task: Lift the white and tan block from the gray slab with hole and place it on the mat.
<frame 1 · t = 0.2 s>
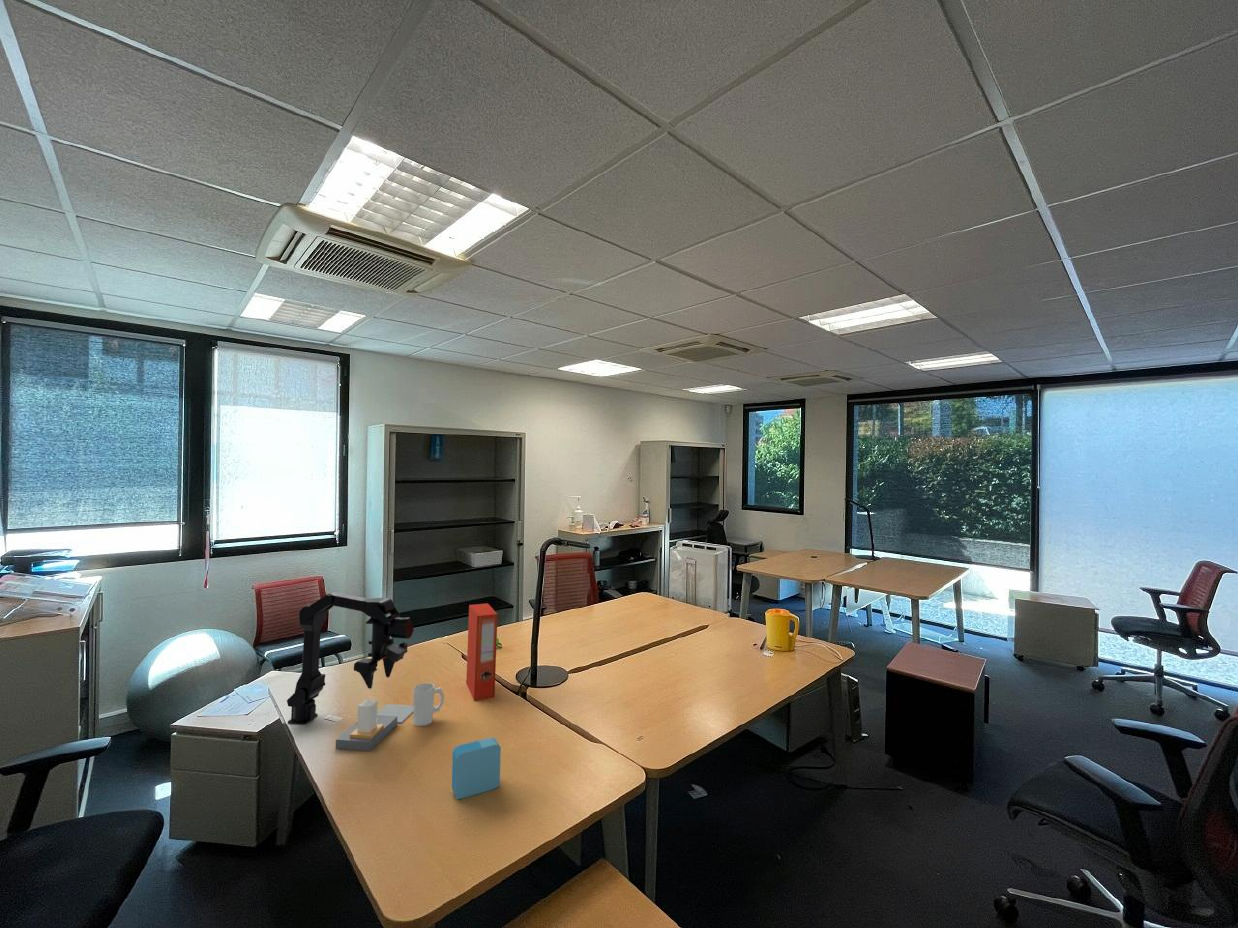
hand: (379, 682, 166), 14 cm above the table, tool pointing down, fingers open, 9 cm apart
file binder: (480, 690, 194), on the table
gray slab with hole: (367, 736, 158), on the table
mug: (428, 721, 169), on the table
mat: (394, 714, 173), on the table
data package: (475, 790, 133), on the table
white and tan block: (366, 741, 155), resting in gray slab with hole
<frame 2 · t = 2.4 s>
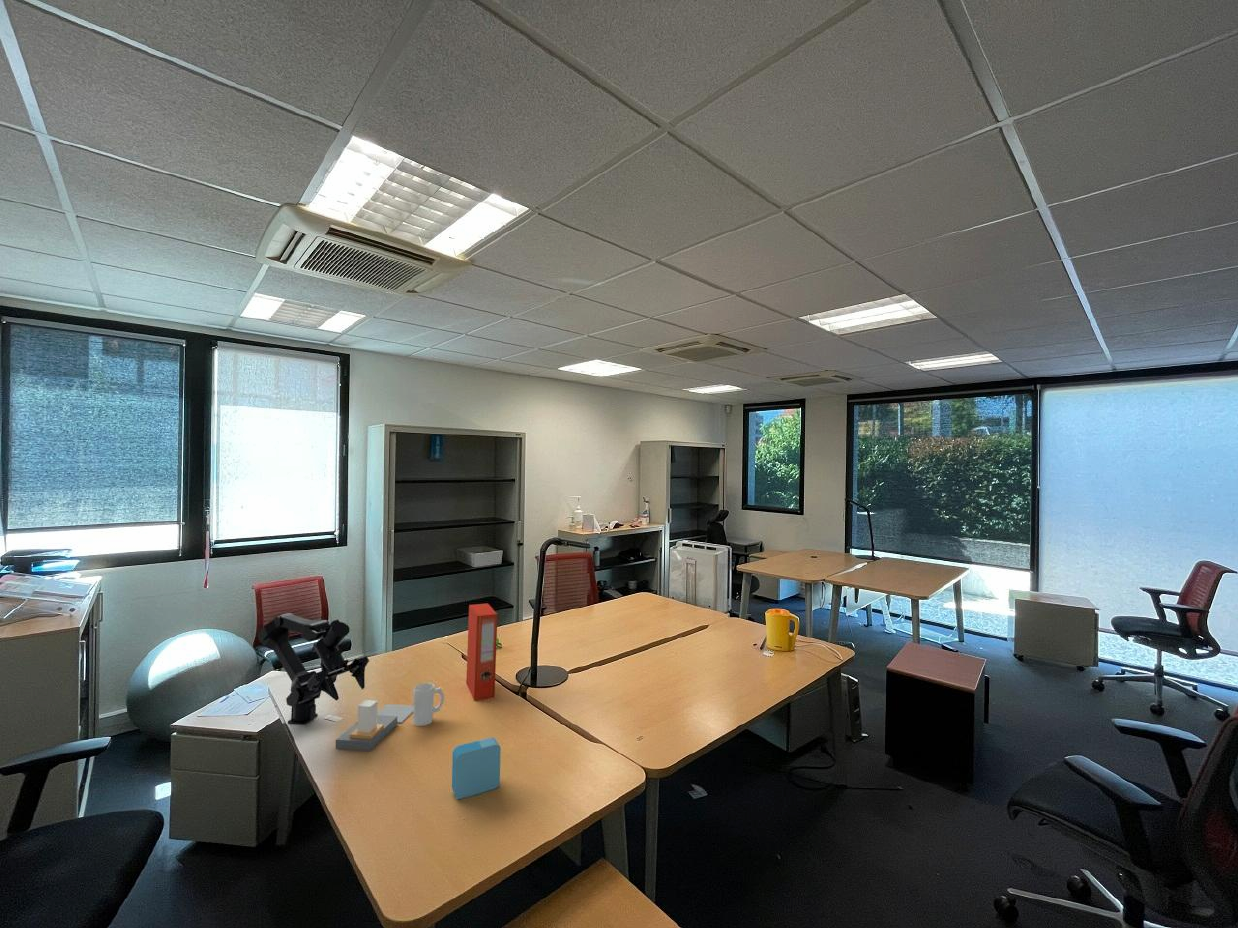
hand: (350, 693, 159), 14 cm above the table, tool tilted 45°, fingers open, 9 cm apart
nothing on the table moved.
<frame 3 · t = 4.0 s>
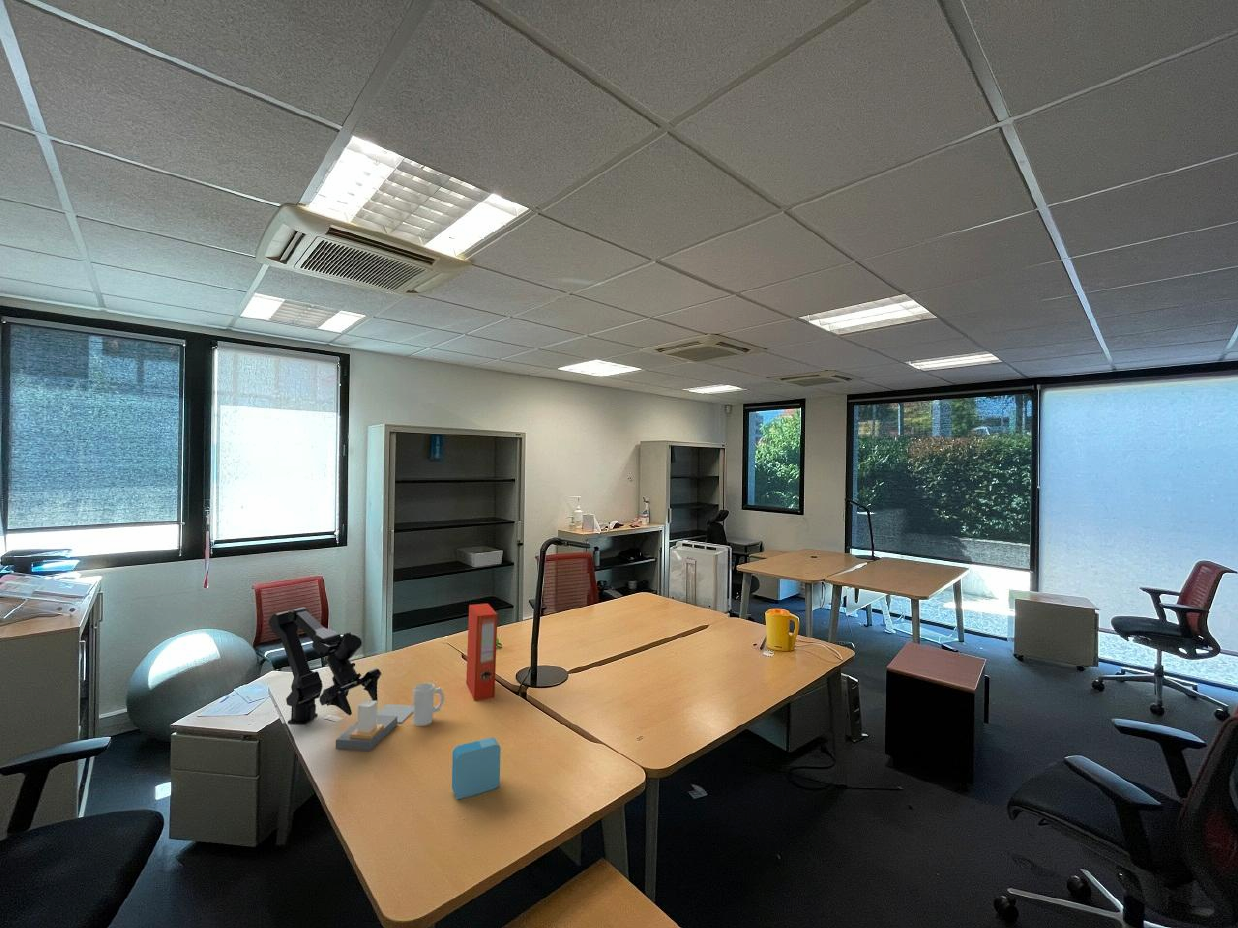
hand: (363, 708, 156), 10 cm above the table, tool tilted 45°, fingers open, 9 cm apart
nothing on the table moved.
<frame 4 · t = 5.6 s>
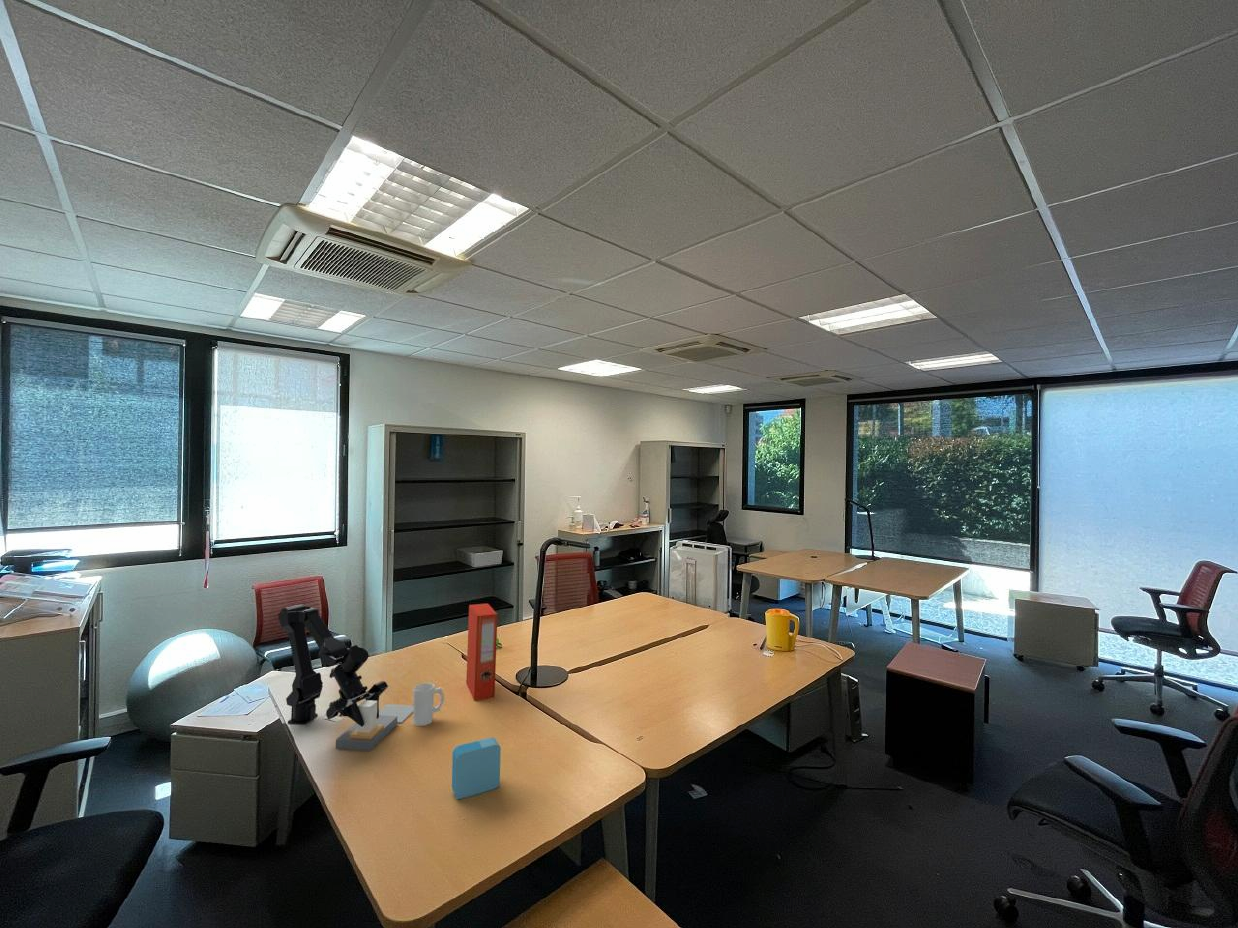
hand: (370, 721, 155), 7 cm above the table, tool tilted 45°, fingers closed on white and tan block, 5 cm apart
white and tan block: (366, 741, 155), resting in gray slab with hole, touching gripper
everything else where it was.
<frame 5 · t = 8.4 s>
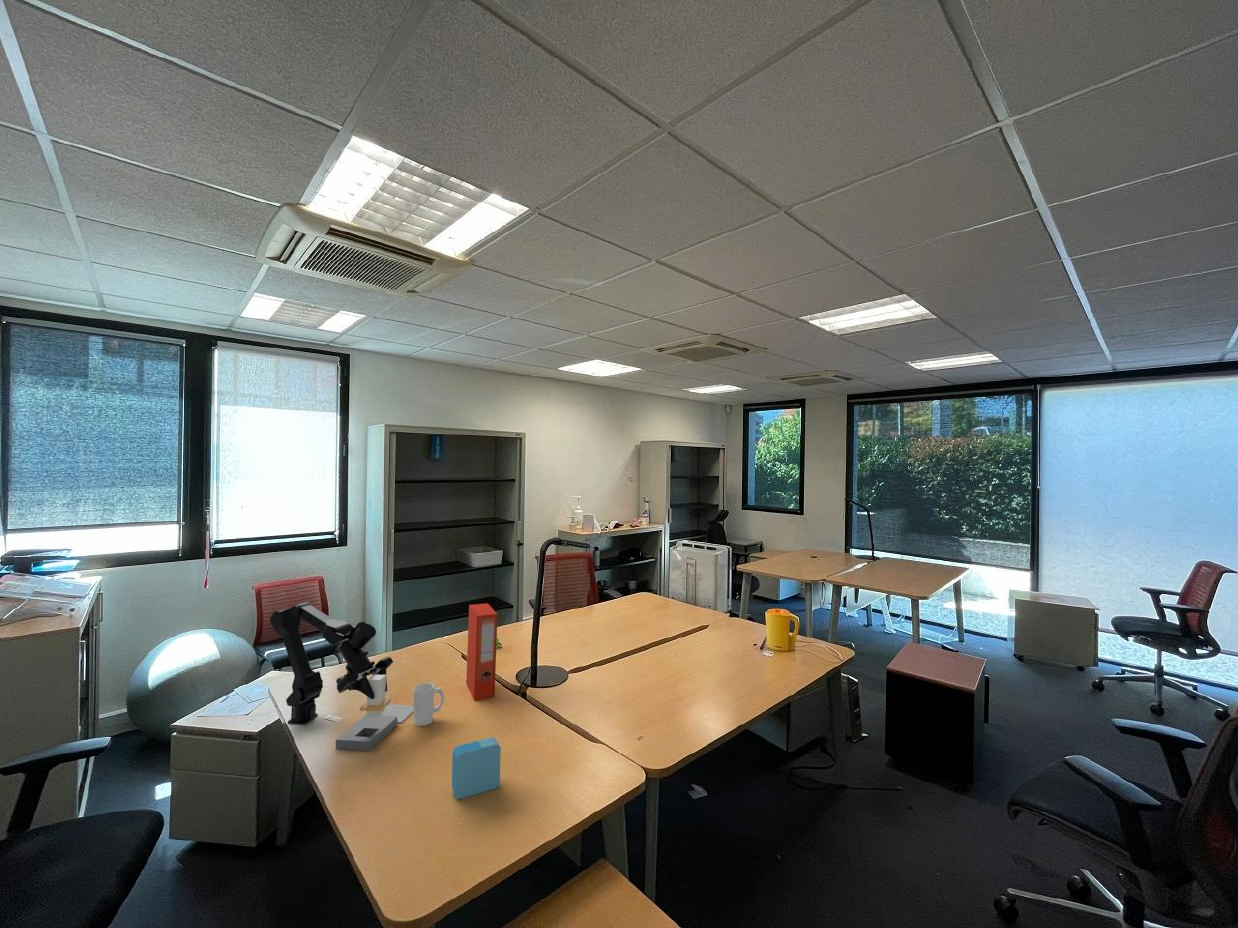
hand: (379, 694, 159), 13 cm above the table, tool tilted 45°, fingers closed on white and tan block, 5 cm apart
white and tan block: (375, 714, 159), point 7 cm above the table, touching gripper
everything else where it was.
when the fingers open (8 cm above the table, at t = 11.3 s): white and tan block stays where it is, resting on mat.
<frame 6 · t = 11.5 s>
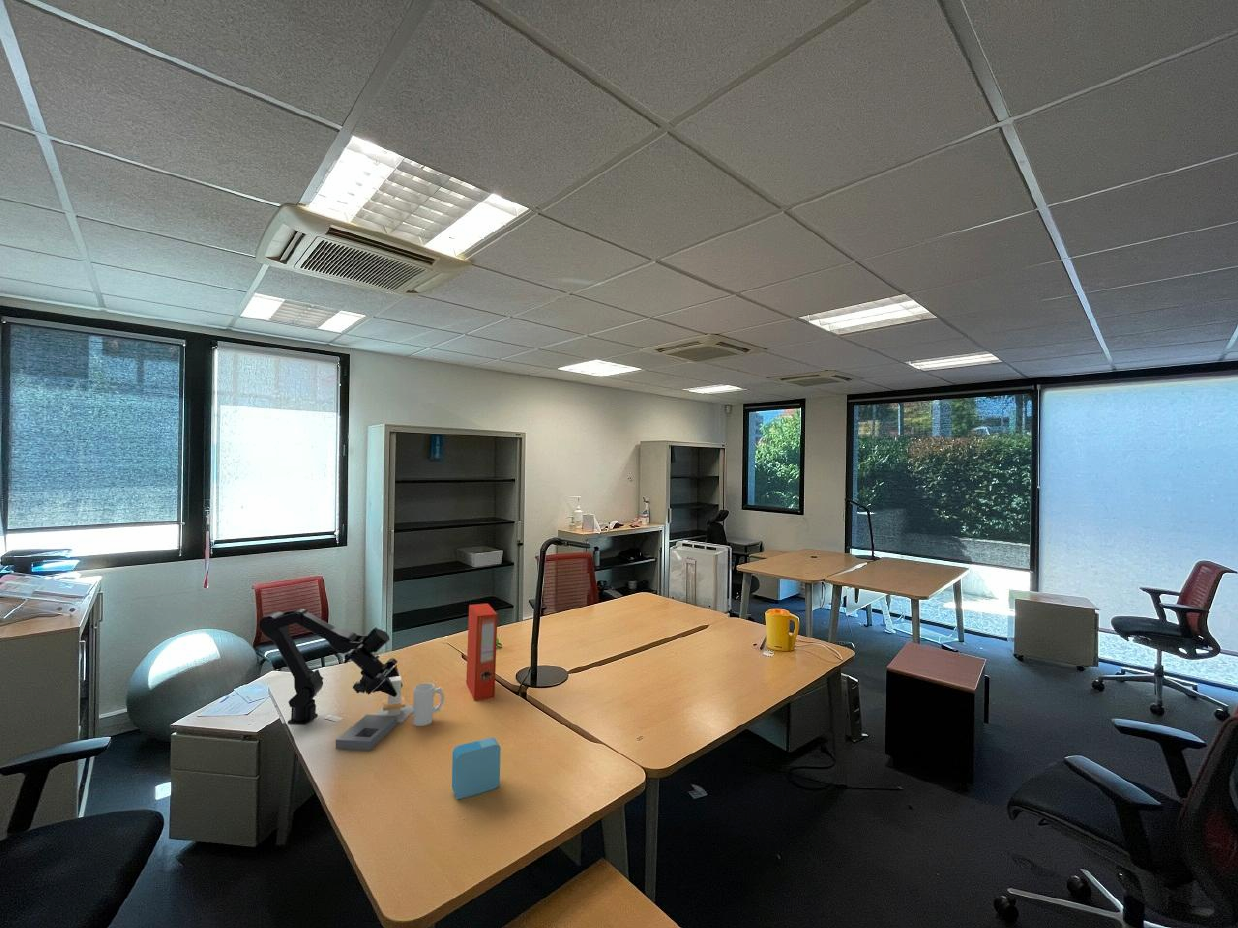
hand: (398, 691, 174), 8 cm above the table, tool tilted 45°, fingers open, 7 cm apart
white and tan block: (393, 712, 173), point 1 cm above the table, touching mat
everything else where it was.
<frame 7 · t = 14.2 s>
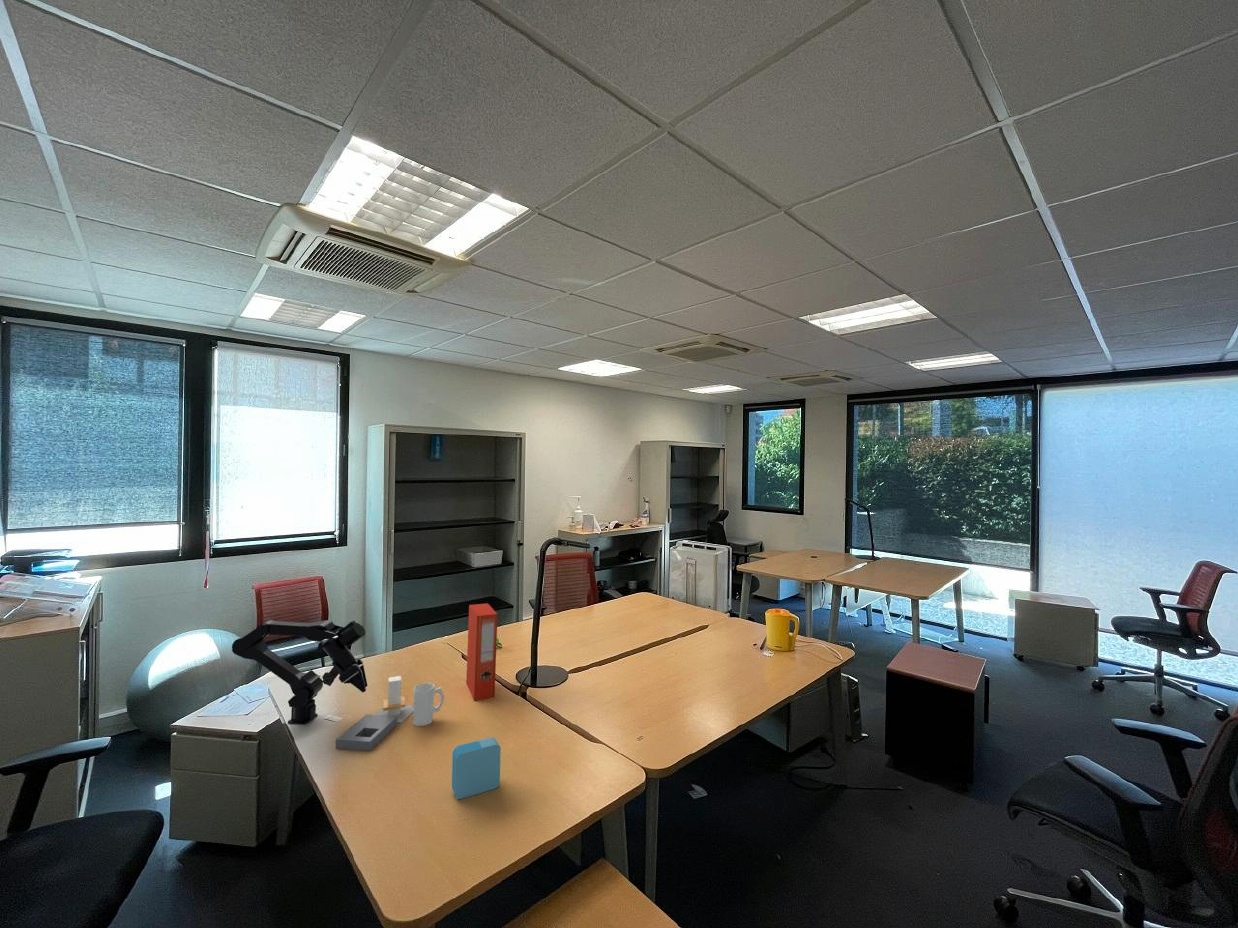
hand: (365, 689, 171), 10 cm above the table, tool tilted 35°, fingers open, 9 cm apart
nothing on the table moved.
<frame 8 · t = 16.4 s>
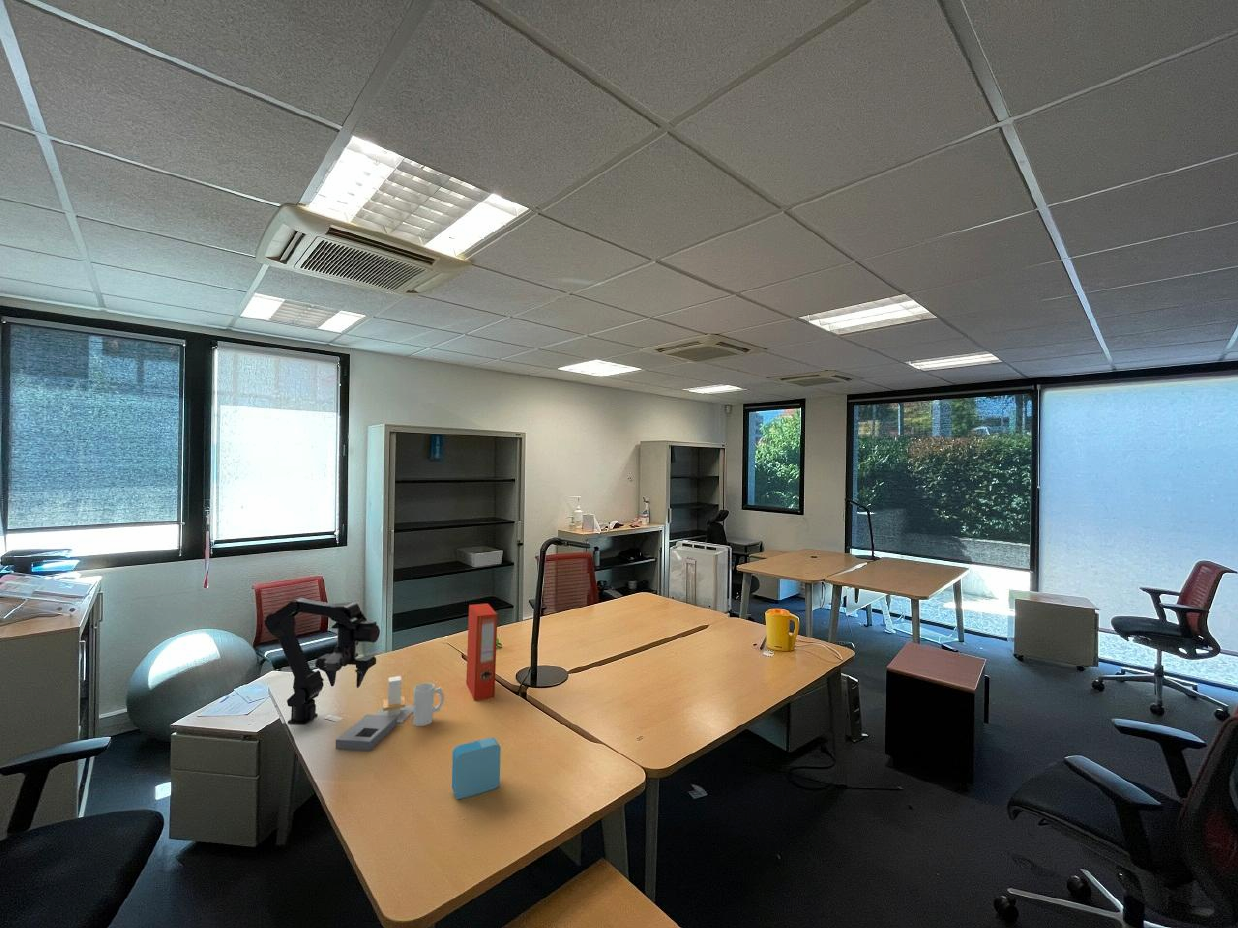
hand: (345, 686, 168), 12 cm above the table, tool pointing down, fingers open, 9 cm apart
nothing on the table moved.
at the end: white and tan block inside the target area (0.1 cm from its centre), point 0.6 cm above the table; white and tan block tilted 0°; the gripper is holding nothing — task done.
